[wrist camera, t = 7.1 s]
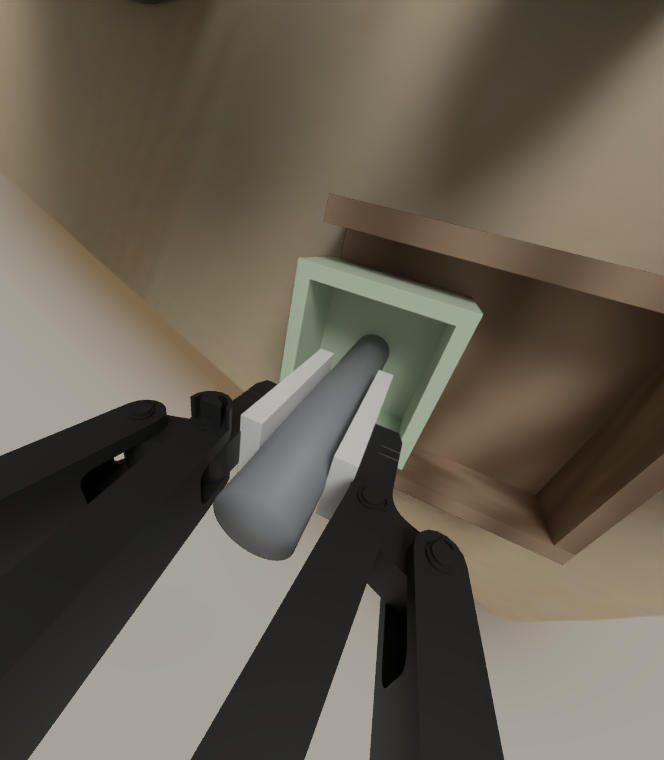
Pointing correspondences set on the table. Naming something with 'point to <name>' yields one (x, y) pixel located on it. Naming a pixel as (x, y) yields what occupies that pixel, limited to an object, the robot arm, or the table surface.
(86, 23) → the table surface
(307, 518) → the green box with handle
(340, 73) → the table surface
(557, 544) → the bay
